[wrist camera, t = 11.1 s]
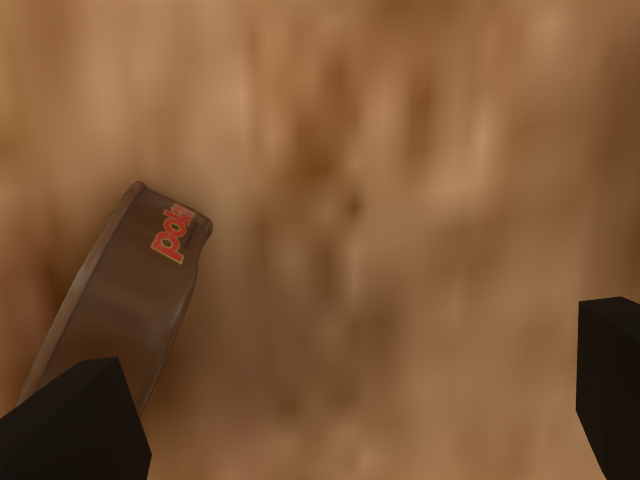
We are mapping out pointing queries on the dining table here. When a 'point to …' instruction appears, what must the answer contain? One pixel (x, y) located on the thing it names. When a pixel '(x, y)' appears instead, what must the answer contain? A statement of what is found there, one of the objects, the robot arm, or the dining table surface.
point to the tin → (127, 294)
